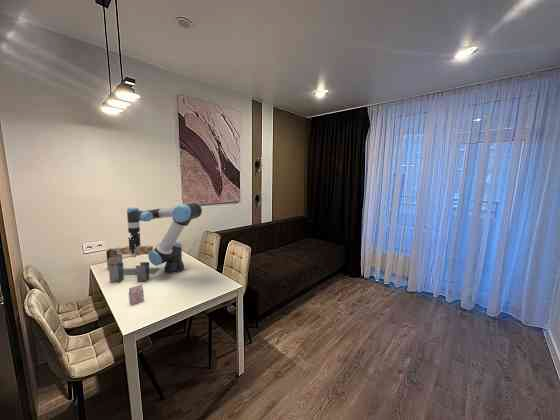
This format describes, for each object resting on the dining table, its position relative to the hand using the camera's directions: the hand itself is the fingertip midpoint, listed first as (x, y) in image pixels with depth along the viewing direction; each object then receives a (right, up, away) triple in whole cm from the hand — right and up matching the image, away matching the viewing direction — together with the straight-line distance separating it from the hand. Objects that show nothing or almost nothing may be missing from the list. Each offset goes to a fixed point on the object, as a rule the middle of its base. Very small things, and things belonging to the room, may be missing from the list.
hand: (135, 255), depth 178 cm
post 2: (+14, -15, -12) cm, 24 cm away
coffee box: (-21, -12, +7) cm, 25 cm away
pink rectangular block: (+27, -20, -40) cm, 52 cm away
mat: (0, -13, +2) cm, 13 cm away
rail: (0, +2, 0) cm, 2 cm away
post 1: (-4, -15, -15) cm, 21 cm away
